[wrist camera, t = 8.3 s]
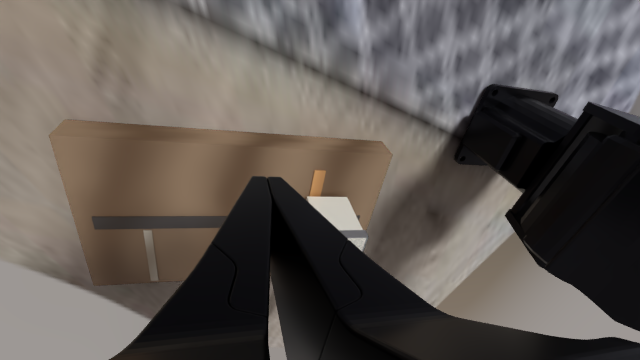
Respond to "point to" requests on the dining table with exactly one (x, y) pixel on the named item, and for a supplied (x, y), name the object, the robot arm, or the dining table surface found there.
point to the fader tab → (341, 217)
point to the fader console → (190, 188)
